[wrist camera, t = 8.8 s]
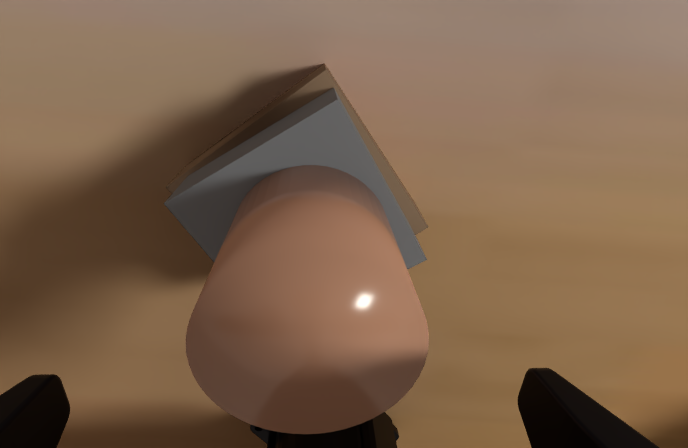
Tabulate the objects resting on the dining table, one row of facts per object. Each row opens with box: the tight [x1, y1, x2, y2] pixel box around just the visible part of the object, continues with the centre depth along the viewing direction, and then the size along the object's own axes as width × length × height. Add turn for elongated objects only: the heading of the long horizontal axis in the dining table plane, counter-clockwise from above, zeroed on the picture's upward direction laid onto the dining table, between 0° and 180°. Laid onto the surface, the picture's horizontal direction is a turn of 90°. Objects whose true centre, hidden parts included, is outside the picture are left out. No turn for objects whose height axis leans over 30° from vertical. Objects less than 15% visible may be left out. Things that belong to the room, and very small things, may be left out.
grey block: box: [164, 88, 427, 269], centre depth 14 cm, size 6×6×2 cm
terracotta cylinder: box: [186, 165, 429, 434], centre depth 11 cm, size 5×5×5 cm
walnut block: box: [166, 63, 428, 235], centre depth 16 cm, size 7×7×3 cm
